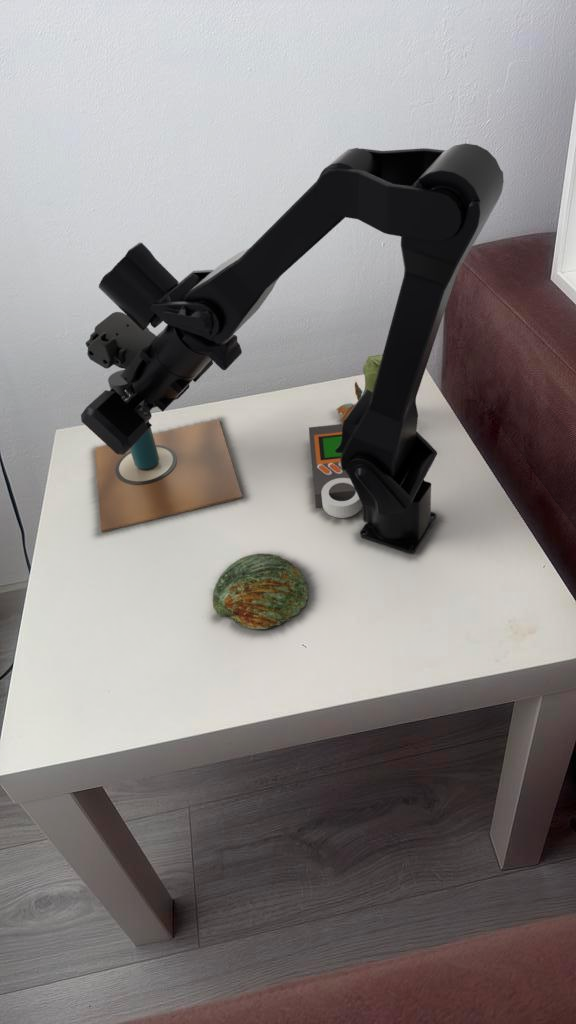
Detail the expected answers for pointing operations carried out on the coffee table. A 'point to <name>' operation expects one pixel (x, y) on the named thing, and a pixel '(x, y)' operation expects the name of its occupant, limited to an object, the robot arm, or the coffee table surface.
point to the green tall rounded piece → (371, 371)
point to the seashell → (260, 591)
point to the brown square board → (166, 477)
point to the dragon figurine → (348, 407)
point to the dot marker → (145, 446)
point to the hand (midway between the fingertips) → (123, 420)
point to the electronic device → (331, 473)
